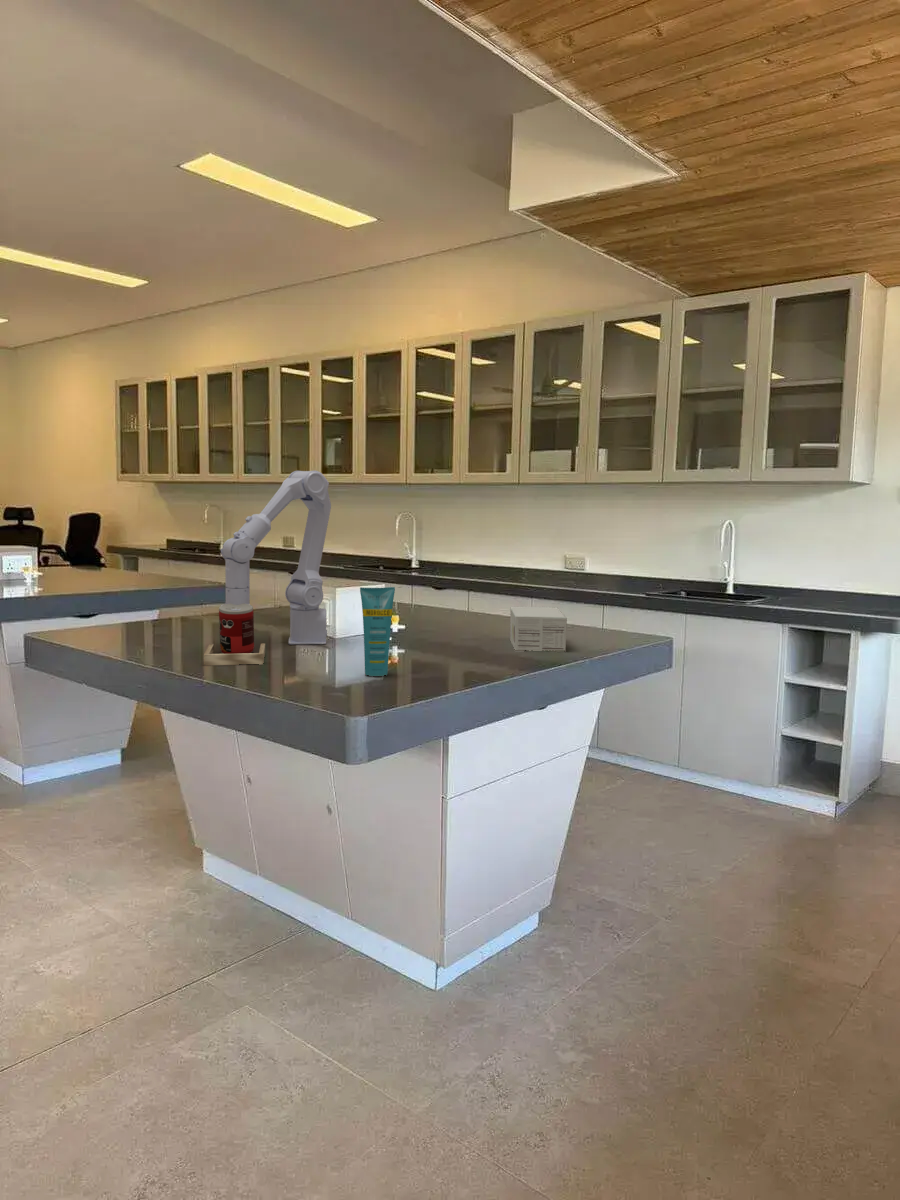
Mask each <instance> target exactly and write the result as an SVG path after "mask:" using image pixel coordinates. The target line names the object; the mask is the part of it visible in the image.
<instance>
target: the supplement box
mask: <svg viewBox="0 0 900 1200" xmlns="http://www.w3.org/2000/svg"><path fill="white" fill-rule="evenodd" d="M509 610H510V613H509V614H510V616H509V617H510V619H509V620H510V621H509V640H510V643H511V645H512V648H513V647H514V648H513V650H514V649H515V650H529V651H531V650H533V651H542V650H544V651H545V650H548V651H549V650H551V651H552V650H554V651H555V650H565V651H566V648H567V646H566V645H567V628H568V627H567V624H568V623H567V621H568V617H567V616H565V614H564V613H563V612H562V611H561V610H560V609H559V608H558V607H556V606H555V607H554V606H552V607H551V606H510V609H509ZM515 650H514V651H515Z"/></svg>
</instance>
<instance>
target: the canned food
mask: <svg viewBox="0 0 900 1200" xmlns="http://www.w3.org/2000/svg"><path fill="white" fill-rule="evenodd" d="M221 605H222V606H221ZM221 605H220V606H219V607H218V621H219V622H218V624H219V649H220V651H221V654H242V653H253V652H254V649H255V620H254V618H255V617H254V607H253V605H252V604H250V605H249V604H245V603H242V604H240V605H234V604H231V603H230V604H226V603H225V604H221ZM231 608H232V609H236V608H237V609H240V611H231Z"/></svg>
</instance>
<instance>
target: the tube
mask: <svg viewBox="0 0 900 1200" xmlns="http://www.w3.org/2000/svg"><path fill="white" fill-rule="evenodd" d="M395 591H396V587H395V586H388V587H387V586H384V587H359V592H360V598H361V599H360V600H361V609H362V611H361V612H362V625H363V647H364V648H363V650H364V655H363V656H364V674H366V675H365V676H367V675H369V676H368V677H373V676H382V677H385V676H384V675H386V676H388V672H389V671H388V669H389V658H390V657H389V655H390V641H391V629H392V618H393V617H392V616H393V606H394V598H395V593H396V592H395Z"/></svg>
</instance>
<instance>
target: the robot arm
mask: <svg viewBox="0 0 900 1200" xmlns="http://www.w3.org/2000/svg"><path fill="white" fill-rule="evenodd" d="M329 486H330V483H329V481H328V479H327V477H325V475H324V474H323V473H322V472H320V471H318V470H294V471H292V472H291V473H290V474H289V475H288V477H286V478H285V479H284V480H283V481H282V484H281V485H280V487H279V488H278V490H277V491H276V492H275V493H274V495H273V496H272V497H271V498H270V500H269V501H268V502H267V504H266V505H265V507H264V508H263V509H262V510H261V512H260V513H254V514H251V516H250V515H248V516H246V518H245V521H246V522H245V523H243V525H242V526H241V527H240V528H239V530H238V531H235V532H234V533H232V534H233V537H231V538H228V539H227V540H225V541H224V543H222V544H223V545H222V548H221V549H220V553H221V555H222V557H223V559H224V562H225V571H224V572H225V573H224V574H225V579H224V580H225V582H224V583H225V604H230V603H231V604H234V605H240V604H242V603H245V604H249V605H251V604H250V601H251V599H250V597H251V594H250V593H251V592H250V590H251V589H250V587H251V586H250V585H251V583H250V576H251V575H250V574H251V573H250V561H251V559H252V558H254V555H255V549H256V548H257V546H258V545H259V544H260V543H261V542H262V540H263V539H265V537H266V536H267V535H268V533H270V531H271V530H272V524H271V523H272V521H274V519H276V517H278V515H279V514H280V513H282V511H284V509H285V508H286V507H287V506H288V505H289V504H290V503H291V502H293V501H296V500H301V501H302V502H303V504H304V505H305V507H306V508H307V509H308V512H307V516H306V517H307V518H306V523H305V529H304V534H303V540H302V545H301V549H300V555H299V560H298V564H297V565H298V566H297V569H296V570H295V571H294V573H293V574H291V578H290V581H289V583H288V585H287V586H286V588H285V592H284V593H285V599H286V600H287V602H288V603H289V628H290V629H289V632H290V633H289V634H290V635H289V637H288V645H326V644H327V637H328V629H327V609H326V608H324V607H323V608H320V605H321V604H322V602H323V600H324V592H323V583H324V581H323V579H322V577H321V575H320V568H321V562H322V558H323V551H324V546H325V541H326V535H327V531H328V525H329V519H330V514H331V509H332V503H331V499H330V494H329ZM222 605H223V604H221V605H220V606H222ZM231 611H240V609H237V608H236V609H232V608H231Z"/></svg>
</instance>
